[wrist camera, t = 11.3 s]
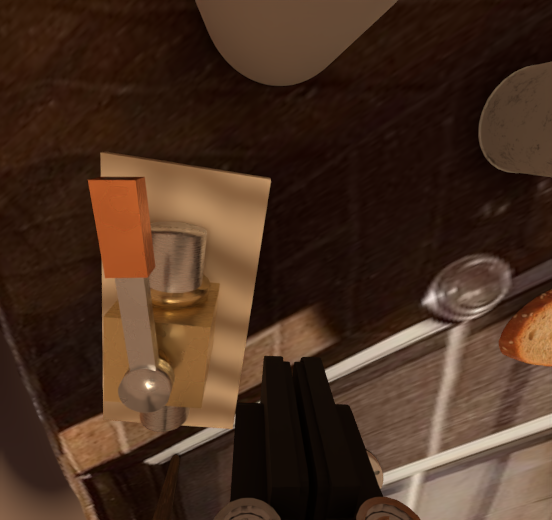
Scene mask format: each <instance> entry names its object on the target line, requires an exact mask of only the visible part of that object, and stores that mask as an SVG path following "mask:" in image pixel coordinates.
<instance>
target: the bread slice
mask: <svg viewBox="0 0 552 520" xmlns="http://www.w3.org/2000/svg"><path fill="white" fill-rule="evenodd" d="M499 348H500V350H501V352H502V353H503V354H504V355H506V356H509V357H511V358H514V359H516V360H519V361H522V362H525V363H530V364H535V365H544V366H552V289H551V290H549V291H547V292H545V293H543V294H541V295H539V296H538V297H536V298H535V299H533V300H532V301H531V302H529V303H528V304H527V305H525V306H524V307H523V308H522V309H521V310H519V311H518V312H517V313H516V314H515V315H514V316H513V317H512V319H511V320H510V321H509V322H508V324H507V325H506V327H505V328H504V330H503V332H502V334H501V337H500V339H499Z"/></svg>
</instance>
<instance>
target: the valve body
mask: <svg viewBox="0 0 552 520" xmlns="http://www.w3.org/2000/svg"><path fill="white" fill-rule="evenodd" d="M150 225H151V233H152V242H153V250H154V259H155V269H154V270H153V271H152V273H151V274H150V275H149V283H150V291H151V299H152V307H153V315H154V323H155V331H156V338H157V346H158V354H159V359H162V360H164V361H165V362H167V363H168V364H169V365H170V366H171V367H172V369H173V371H174V374H175V381H174V384H173V387H172V391H171V394H170V397H169V400H168V402H167V403H166V405H165V406H164V407H163V408H161V409H160V410H157V411H155V412H150V413H141V412H139V418H140V421H141V423H142V424H143V425H144V426H145V427H146V428H147V429H149V430H152V431H157V432H166V431H170V430H174V429H176V428H178V427H179V426H181V425H182V424H183V423H184V422H185V421H186V420H187V418H188V416H189V412H190V408H202V403H203V397H204V392H205V387H206V381H207V376H208V371H209V365H210V360H211V354H212V349H213V340H214V332H215V323H216V315H217V306H218V297H219V289H220V283H212V282H210V281H209V279H208V278H207V277H206V276H205V275H203V269H204V258H205V248H206V238H207V231H206V230H205V229H204V228H202V227H200V226H197V225H193V224H189V223H183V222H173V221H163V222H154V223H151V224H150ZM103 340H104V401H110V402H121V400H120V398H119V395H118V388H119V385H120V383H121V381H122V379H123V377H124V375H125V373H126V371H127V370H128V368H129V362H128V356H127V350H126V344H125V338H124V332H123V326H122V320H121V314H120V308H119V301H118V300H117V301H116V302H115V303H114V304H113V306H112V307H111V308H110V309H109V310H108V312H107V313H106V314H105V315H104V317H103Z"/></svg>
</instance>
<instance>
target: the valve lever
mask: <svg viewBox="0 0 552 520" xmlns="http://www.w3.org/2000/svg"><path fill="white" fill-rule="evenodd" d="M88 183H89V189H90V194H91V200H92V206H93V211H94V217H95V223H96V229H97V234H98V240H99V246H100V251H101V257H102V263H103V269H104V274H105V278H115V283H116V289H117V295H118V301H119V308H120V314H121V320H122V326H123V332H124V338H125V344H126V350H127V356H128V362H129V368H128V370H127V371H126V373H125V375H124V377H123V379H122V381H121V383H120V385H119V388H118V395H119V398H120V400H121V402H122V403H123V404H124V405H125V406H126V407H128V408H129V409H131V410H134V411H136V412H141V413H150V412H155V411H157V410H160V409H161V408H163V407H164V406H165V405H166V403H167V402H168V400H169V397H170V394H171V391H172V387H173V384H174V381H175V374H174V371H173V369H172V367H171V366H170V365H169V364H168V363H167V362H165V361H164V360H162V359H159V354H158V346H157V338H156V331H155V323H154V315H153V307H152V299H151V291H150V283H149V275H150V274H151V273H152V271H153V270H154V269H155V259H154V250H153V242H152V233H151V225H150V216H149V208H148V200H147V191H146V183H145V177H98V178H94V179H90V180H88Z"/></svg>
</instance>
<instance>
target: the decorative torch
mask: <svg viewBox="0 0 552 520" xmlns="http://www.w3.org/2000/svg"><path fill="white" fill-rule="evenodd" d="M179 465H180V458H179V456H178V455H174V456H173V457H172V458H171V461H170V465H169V468H168V472H167V475H166V478H165V481H164V484H163V487H162V491H161V494H160V497H159V500H158V503H157V507H156V510H155V513H154V516H153V519H152V520H171V515H172V508H173V502H174V495H175V489H176V482H177V476H178V470H179Z"/></svg>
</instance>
